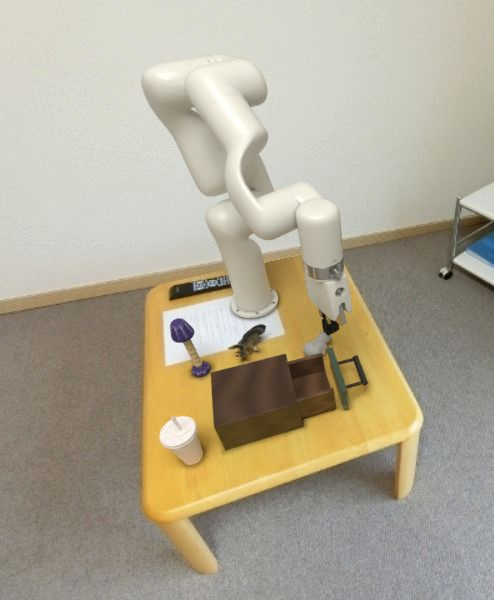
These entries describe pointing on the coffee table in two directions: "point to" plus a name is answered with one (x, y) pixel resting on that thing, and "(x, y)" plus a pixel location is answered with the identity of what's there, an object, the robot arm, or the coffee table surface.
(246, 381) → the cabinet
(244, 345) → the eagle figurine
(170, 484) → the coffee table surface
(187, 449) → the smoothie
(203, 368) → the toy lamp
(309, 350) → the pale two-lobed sculpture
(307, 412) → the drawer
